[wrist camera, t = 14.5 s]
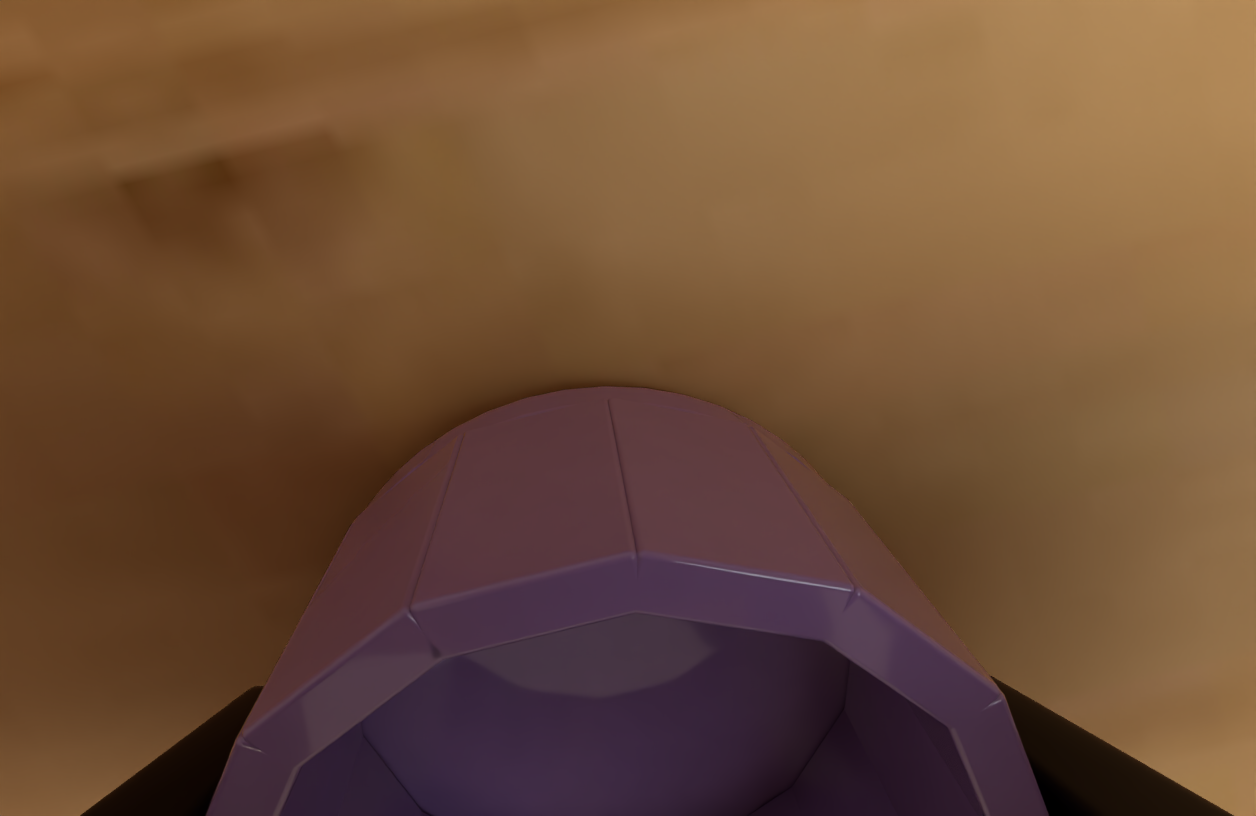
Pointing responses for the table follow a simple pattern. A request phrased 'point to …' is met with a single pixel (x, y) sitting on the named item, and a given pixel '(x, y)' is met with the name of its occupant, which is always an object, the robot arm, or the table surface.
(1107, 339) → the table surface
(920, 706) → the dish
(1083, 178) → the table surface
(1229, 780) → the table surface
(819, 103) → the table surface
